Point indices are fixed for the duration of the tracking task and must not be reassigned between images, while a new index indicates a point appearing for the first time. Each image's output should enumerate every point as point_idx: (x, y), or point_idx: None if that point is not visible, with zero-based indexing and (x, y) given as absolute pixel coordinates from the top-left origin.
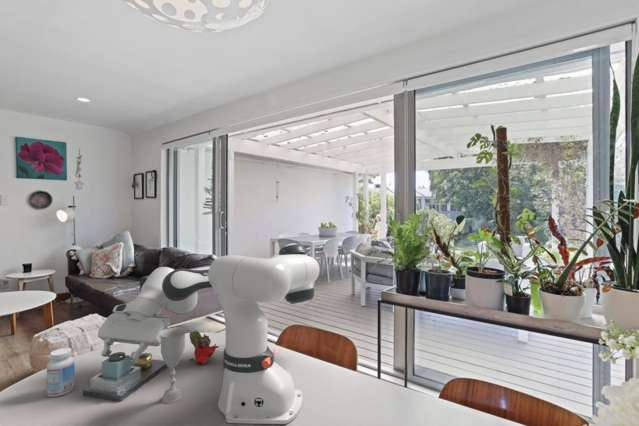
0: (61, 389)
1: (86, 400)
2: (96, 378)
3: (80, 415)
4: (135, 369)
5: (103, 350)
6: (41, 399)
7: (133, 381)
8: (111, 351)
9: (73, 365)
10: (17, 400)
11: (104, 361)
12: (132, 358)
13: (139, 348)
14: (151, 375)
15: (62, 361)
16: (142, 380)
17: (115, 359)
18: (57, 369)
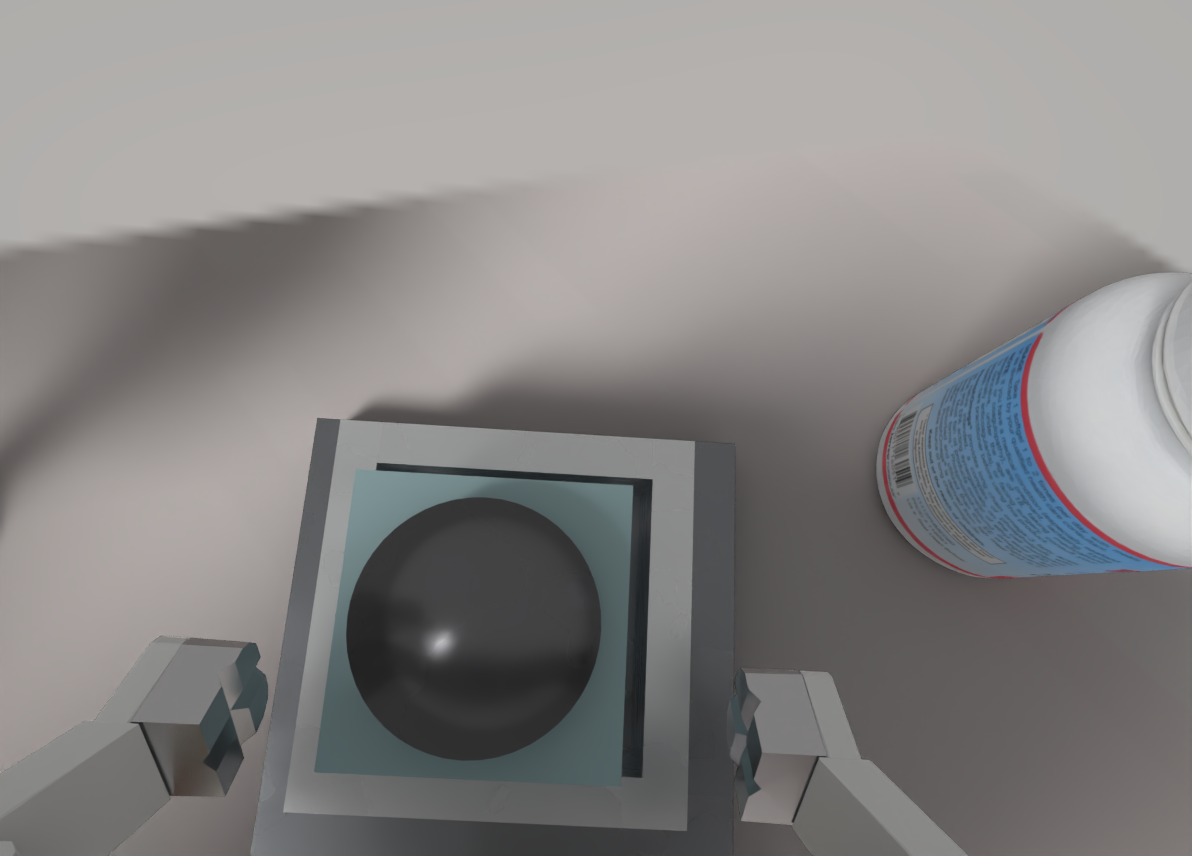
0: (914, 401)
1: (633, 400)
2: (632, 453)
3: (518, 235)
4: None
5: (834, 718)
6: None
7: None
8: (739, 810)
9: (1028, 478)
10: None
11: (604, 499)
12: (199, 641)
13: (13, 781)
14: None
15: (1139, 337)
16: (272, 714)
17: (421, 512)
18: (1073, 304)
